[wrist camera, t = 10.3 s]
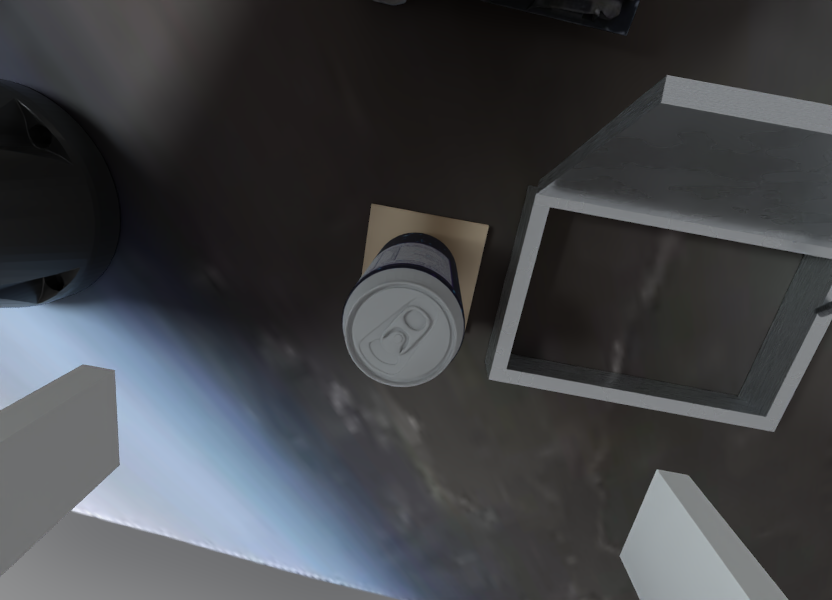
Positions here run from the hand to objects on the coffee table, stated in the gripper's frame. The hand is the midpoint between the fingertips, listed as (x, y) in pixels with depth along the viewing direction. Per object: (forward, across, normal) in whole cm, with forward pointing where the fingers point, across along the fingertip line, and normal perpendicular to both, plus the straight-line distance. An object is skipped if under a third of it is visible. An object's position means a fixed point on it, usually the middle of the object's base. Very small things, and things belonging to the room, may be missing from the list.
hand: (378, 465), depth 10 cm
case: (+21, +16, +2) cm, 26 cm away
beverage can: (+20, 0, 0) cm, 20 cm away
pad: (+21, 0, 0) cm, 21 cm away
